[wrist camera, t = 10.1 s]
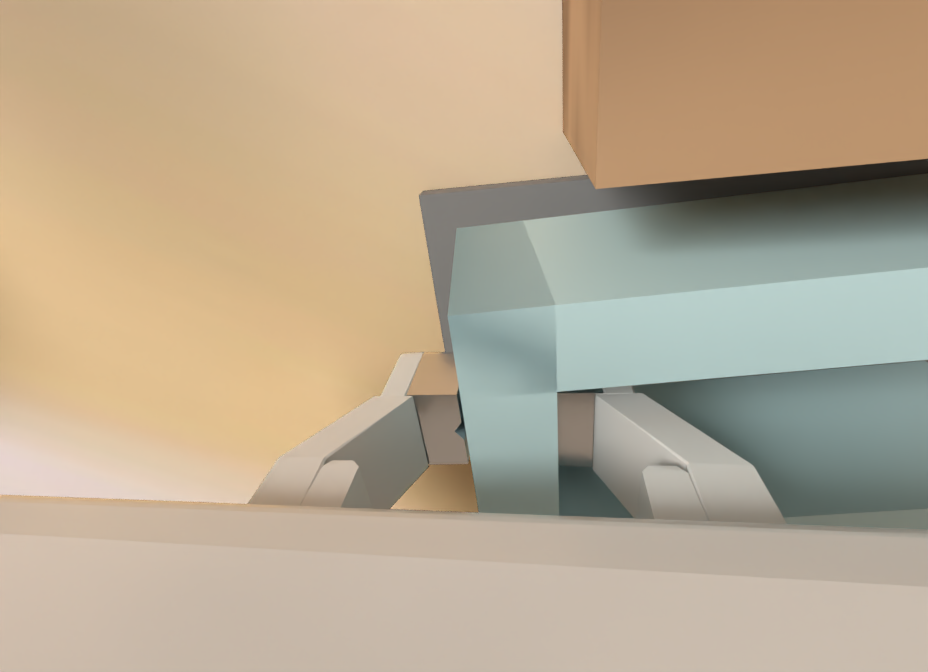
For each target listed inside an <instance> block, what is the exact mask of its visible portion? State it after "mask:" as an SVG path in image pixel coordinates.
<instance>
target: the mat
mask: <svg viewBox="0 0 928 672" xmlns="http://www.w3.org/2000/svg"><path fill="white" fill-rule="evenodd" d="M927 173H928V159H919V160H908V161H897V162H886V163H875V164H865V165H854V166H843V167H832V168H821V169H810V170H799V171H788V172H777V173H766V174H755V175H744V176H733V177H722V178H711V179H700V180H689V181H678V182H667V183H657V184H646V185H635V186H624V187H613V188H602V189H595V187H594V185H593V184H592V182H591V180H590V178H589V177H588V175H581V176H571V177H561V178H551V179H540V180H530V181H520V182H510V183H499V184H489V185H479V186H468V187H458V188H448V189H438V190H427V191H423V192H422V193H421V194H420V195H419V199H420V205H421V211H422V217H423V223H424V229H425V235H426V241H427V247H428V253H429V259H430V265H431V271H432V277H433V283H434V289H435V295H436V301H437V307H438V313H439V318H440V324H441V330H442V336H443V342H444V348H445V352H453V347H452V341H451V335H450V328H449V322H448V307H449V297H450V288H451V278H452V268H453V259H454V249H455V239H456V230H457V228H463V227H472V226H480V225H489V224H498V223H506V222H515V221H523V220H532V219H540V218H549V217H558V216H566V215H575V214H583V213H592V212H601V211H609V210H618V209H626V208H635V207H644V206H652V205H661V204H669V203H678V202H686V201H695V200H704V199H712V198H721V197H729V196H738V195H747V194H755V193H764V192H772V191H781V190H789V189H798V188H807V187H815V186H824V185H832V184H841V183H850V182H858V181H867V180H875V179H884V178H892V177H901V176H910V175H918V174H927ZM920 361H926V362H928V360H920ZM908 362H916V361H908ZM896 363H904V362H896ZM885 364H893V363H885ZM873 365H881V364H873ZM862 366H870V365H862ZM850 367H858V366H850ZM839 368H847V367H839ZM827 369H835V368H827ZM816 370H823V369H816ZM804 371H812V370H804ZM793 372H800V371H793ZM781 373H789V372H781ZM769 374H777V373H769ZM758 375H766V374H758ZM746 376H754V375H746ZM735 377H742V376H735ZM723 378H731V377H723ZM712 379H719V378H712ZM700 380H708V379H700ZM689 381H696V380H689ZM677 382H685V381H677ZM666 383H673V382H666ZM654 384H662V383H654ZM642 385H650V384H642ZM632 386H638V385H632Z"/></svg>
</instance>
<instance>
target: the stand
mask: <svg viewBox="0 0 928 672" xmlns="http://www.w3.org/2000/svg"><path fill="white" fill-rule="evenodd" d="M562 20H563V133H564V135H565V136H566V138H567V140H568V142H569V143H570V145H571V147H572V149H573V150H574V152H575V154H576V156H577V157H578V159H579V161H580V163H581V164H582V166H583V168H584V170H585V171H586V173H587V175H588V177H589V178H590V180H591V182H592V184H593V185H594V187H595V189H602V188H613V187H624V186H635V185H646V184H657V183H667V182H678V181H689V180H700V179H711V178H722V177H733V176H744V175H755V174H766V173H777V172H788V171H799V170H810V169H821V168H832V167H843V166H854V165H865V164H875V163H886V162H897V161H908V160H919V159H928V0H562Z"/></svg>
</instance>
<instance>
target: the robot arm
mask: <svg viewBox="0 0 928 672" xmlns="http://www.w3.org/2000/svg"><path fill="white" fill-rule="evenodd" d="M557 417H558V466H574V467H593V470H594V471H595V473H596V474H597V475H598V476H599V477H600V479H601V480H602V481H603V482H604V483H605V484H606V486H607V487H608V488H609V489H610V490H611V492H612V493H613V494H614V495H615V496H616V497H617V499H618V500H619V501H620V502H621V503H622V505H623V506H624V507H625V508H626V509H627V510H628V512H629V513H630V514H631V515H632V516H633V518H609V517H583V516H557V515H531V514H505V513H478V512H452V511H426V510H399V509H390V508H391V507H392V506H393V505H394V504H395V503H396V502H397V501H398V499H399V498H400V497H401V496H402V495H403V494H404V493H405V492H406V491H407V490H408V489H409V487H410V486H411V485H412V484H413V483H414V482H415V481H416V480H417V479H418V478H419V477H420V476H421V474H422V473H423V472H424V471H425V470H426V469H427V468H428V467H429V466H428V464H468V461H469V456H470V454H469V448H468V442H467V435H466V429H465V423H464V417H463V410H462V404H461V398H460V391H459V385H458V379H457V372H456V366H455V360H454V354H453V352H425V353H424V352H414V353H403V354H401V355H400V357H399V359H398V361H397V363H396V365H395V367H394V369H393V371H392V373H391V375H390V377H389V379H388V381H387V383H386V386H385V388H384V390H383V392H382V394H381V396H374V397H372V398H370V399H369V400H367V401H366V402H364V403H363V404H361V405H360V406H358V407H356V408H355V409H353V410H352V411H350V412H349V413H347V414H346V415H344V416H342V417H341V418H339V419H338V420H336V421H335V422H333V423H332V424H330V425H329V426H327V427H325V428H324V429H322V430H321V431H319V432H318V433H316V434H315V435H313V436H311V437H310V438H308V439H307V440H305V441H304V442H302V443H301V444H299V445H297V446H296V447H294V448H293V449H291V450H290V451H288V452H287V453H285V454H283V455H282V456H280V457H279V458H278V459H277V461H276V462H275V464H274V465H273V467H272V468H271V470H270V471H269V473H268V474H267V476H266V477H265V479H264V480H263V482H262V483H261V485H260V486H259V488H258V489H257V490H256V492H255V493H254V495H253V496H252V498H251V499H250V501H249V502H248V504H233V503H209V502H183V501H156V500H129V499H102V498H75V497H48V496H21V495H0V672H928V529H906V528H879V527H852V526H825V525H798V524H787V523H786V521H785V519H784V518H783V516H782V514H781V512H780V511H779V509H778V507H777V505H776V504H775V502H774V500H773V498H772V497H771V495H770V493H769V491H768V490H767V488H766V486H765V484H764V483H763V481H762V479H761V477H760V476H759V474H758V472H757V470H756V469H755V467H754V466H753V465H752V464H750V463H749V462H747V461H746V460H744V459H743V458H741V457H740V456H738V455H737V454H735V453H734V452H732V451H730V450H729V449H727V448H726V447H724V446H723V445H721V444H720V443H718V442H717V441H715V440H714V439H712V438H711V437H709V436H707V435H706V434H704V433H703V432H701V431H700V430H698V429H697V428H695V427H694V426H692V425H691V424H689V423H688V422H686V421H684V420H683V419H681V418H680V417H678V416H677V415H675V414H674V413H672V412H671V411H669V410H668V409H666V408H665V407H663V406H662V405H660V404H658V403H657V402H655V401H654V400H652V399H651V398H649V397H648V396H646V395H645V394H643V393H635V392H634V389H633V386H632V385H631V386H619V387H608V388H596V389H585V390H573V391H562V392H557Z"/></svg>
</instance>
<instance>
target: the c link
mask: <svg viewBox="0 0 928 672" xmlns="http://www.w3.org/2000/svg"><path fill="white" fill-rule="evenodd" d="M448 322H449V328H450V335H451V341H452V347H453V354H454V360H455V366H456V372H457V379H458V385H459V391H460V398H461V404H462V410H463V417H464V423H465V429H466V435H467V442H468V448H469V454H470V461H471V467H472V473H473V480H474V486H475V492H476V498H477V505H478V511H479V513H505V514H531V515H557V516H583V517H609V518H633V516H632V515H631V514H630V513H629V512H628V510H627V509H626V508H625V507H624V506H623V505H622V503H621V502H620V501H619V500H618V499H617V497H616V496H615V495H614V494H613V493H612V492H611V490H610V489H609V488H608V487H607V486H606V484H605V483H604V482H603V481H602V480H601V479H600V477H599V476H598V475H597V474H596V473H595V471H594V470H593V467H574V466H558V417H557V392H562V391H573V390H585V389H596V388H608V387H619V386H631V385H638V386H633V389H634V392H635V393H643V394H645V395H646V396H648V397H649V398H651V399H652V400H654V401H655V402H657V403H658V404H660V405H662V406H663V407H665V408H666V409H668V410H669V411H671V412H672V413H674V414H675V415H677V416H678V417H680V418H681V419H683V420H684V421H686V422H688V423H689V424H691V425H692V426H694V427H695V428H697V429H698V430H700V431H701V432H703V433H704V434H706V435H707V436H709V437H711V438H712V439H714V440H715V441H717V442H718V443H720V444H721V445H723V446H724V447H726V448H727V449H729V450H730V451H732V452H734V453H735V454H737V455H738V456H740V457H741V458H743V459H744V460H746V461H747V462H749V463H750V464H752V465H753V466H754V467H755V469H756V470H757V472H758V474H759V476H760V477H761V479H762V481H763V483H764V484H765V486H766V488H767V490H768V491H769V493H770V495H771V497H772V498H773V500H774V502H775V504H776V505H777V507H778V509H779V511H780V512H781V514H782V516H783V518H784V519H785V521H786V523H787V524H798V525H825V526H852V527H879V528H906V529H928V362H926V361H920V360H928V173H927V174H918V175H910V176H901V177H892V178H884V179H875V180H867V181H858V182H850V183H841V184H832V185H824V186H815V187H807V188H798V189H789V190H781V191H772V192H764V193H755V194H747V195H738V196H729V197H721V198H712V199H704V200H695V201H686V202H678V203H669V204H661V205H652V206H644V207H635V208H626V209H618V210H609V211H601V212H592V213H583V214H575V215H566V216H558V217H549V218H540V219H532V220H523V221H515V222H506V223H498V224H489V225H480V226H472V227H463V228H457V230H456V239H455V249H454V259H453V268H452V278H451V288H450V297H449V307H448ZM908 361H916V362H908ZM896 362H904V363H896ZM885 363H893V364H885ZM873 364H881V365H873ZM862 365H870V366H862ZM850 366H858V367H850ZM839 367H847V368H839ZM827 368H835V369H827ZM816 369H823V370H816ZM804 370H812V371H804ZM793 371H800V372H793ZM781 372H789V373H781ZM769 373H777V374H769ZM758 374H766V375H758ZM746 375H754V376H746ZM735 376H742V377H735ZM723 377H731V378H723ZM712 378H719V379H712ZM700 379H708V380H700ZM689 380H696V381H689ZM677 381H685V382H677ZM666 382H673V383H666ZM654 383H662V384H654ZM642 384H650V385H642Z"/></svg>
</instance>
